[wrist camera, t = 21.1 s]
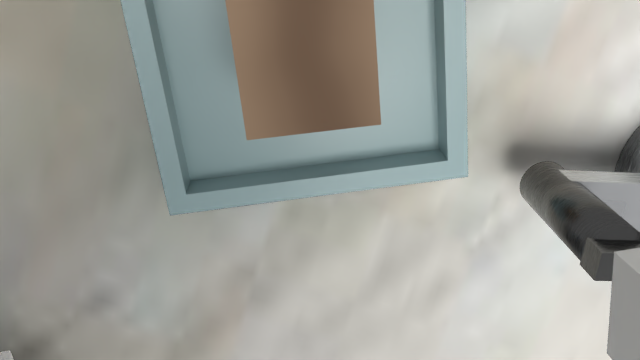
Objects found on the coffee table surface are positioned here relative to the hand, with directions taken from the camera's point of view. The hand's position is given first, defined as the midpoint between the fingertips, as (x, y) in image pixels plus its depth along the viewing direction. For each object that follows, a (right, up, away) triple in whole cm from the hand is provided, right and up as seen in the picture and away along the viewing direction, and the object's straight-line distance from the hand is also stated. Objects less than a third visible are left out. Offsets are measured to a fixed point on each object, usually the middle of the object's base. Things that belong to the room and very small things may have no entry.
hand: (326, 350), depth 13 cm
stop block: (-1, +12, +15) cm, 19 cm away
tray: (-1, +11, +16) cm, 20 cm away
